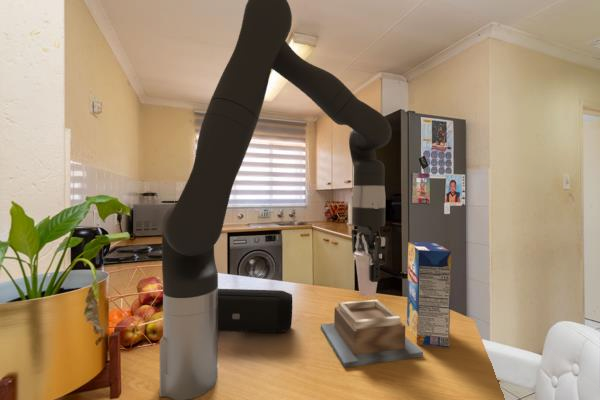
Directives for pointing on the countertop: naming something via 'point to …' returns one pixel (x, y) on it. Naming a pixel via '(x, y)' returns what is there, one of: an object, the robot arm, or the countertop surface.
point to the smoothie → (364, 274)
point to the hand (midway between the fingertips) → (367, 276)
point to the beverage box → (429, 293)
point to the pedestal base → (366, 357)
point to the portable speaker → (254, 310)
